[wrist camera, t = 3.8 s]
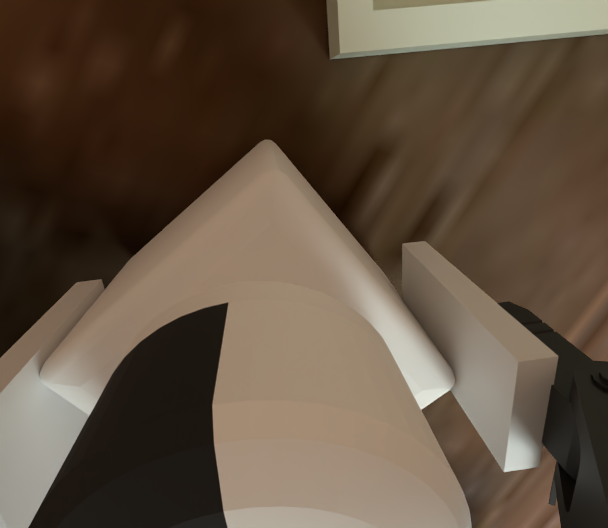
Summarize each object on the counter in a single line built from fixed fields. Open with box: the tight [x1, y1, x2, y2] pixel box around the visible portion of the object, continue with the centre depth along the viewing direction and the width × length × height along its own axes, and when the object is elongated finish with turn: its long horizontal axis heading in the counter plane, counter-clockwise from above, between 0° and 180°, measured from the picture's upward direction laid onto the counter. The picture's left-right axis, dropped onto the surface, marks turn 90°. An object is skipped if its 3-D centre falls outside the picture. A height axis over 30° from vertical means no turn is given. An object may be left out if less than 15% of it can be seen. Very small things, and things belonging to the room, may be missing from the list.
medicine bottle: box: [30, 140, 472, 528], centre depth 10 cm, size 7×7×12 cm
